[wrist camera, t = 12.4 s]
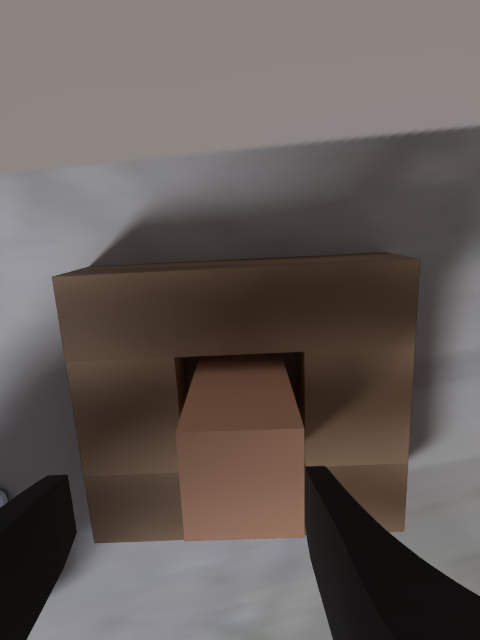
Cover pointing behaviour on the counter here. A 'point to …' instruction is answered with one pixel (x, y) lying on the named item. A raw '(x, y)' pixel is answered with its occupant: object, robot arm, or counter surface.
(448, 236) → the counter surface
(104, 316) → the socket block
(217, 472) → the peg
